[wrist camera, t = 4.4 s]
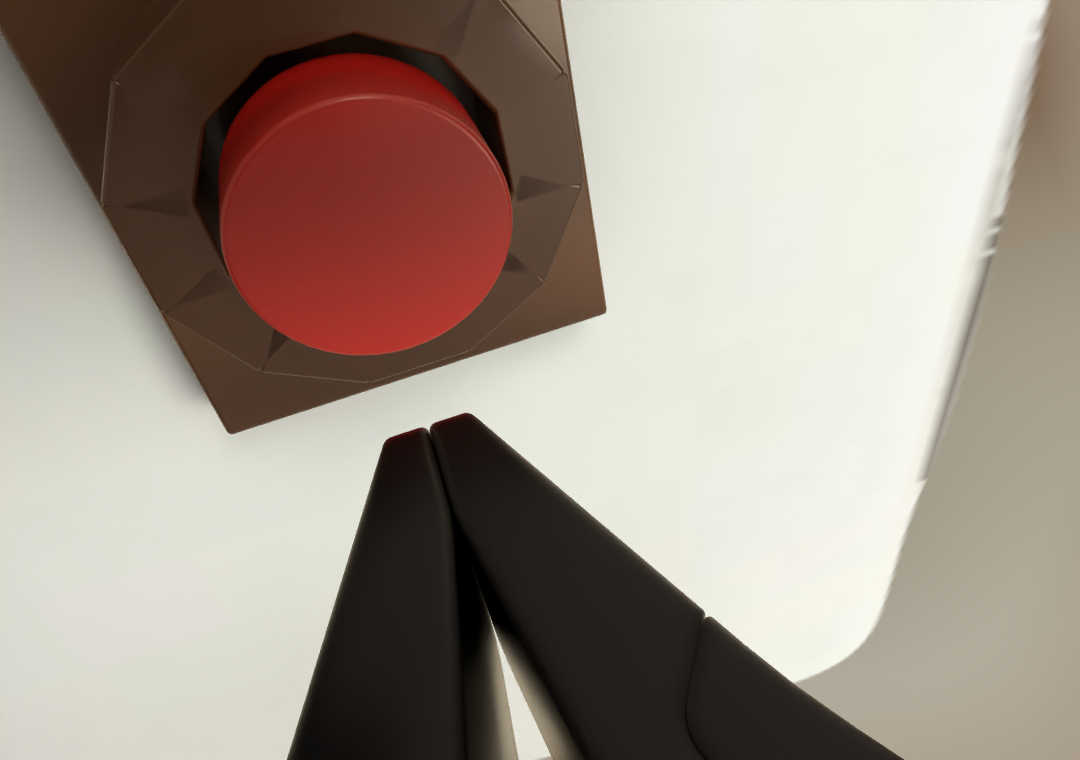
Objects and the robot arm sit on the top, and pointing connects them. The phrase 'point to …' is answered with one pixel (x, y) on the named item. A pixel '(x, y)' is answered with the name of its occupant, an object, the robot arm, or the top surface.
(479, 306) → the switch block
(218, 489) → the top surface
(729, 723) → the robot arm
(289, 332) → the button
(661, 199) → the top surface
